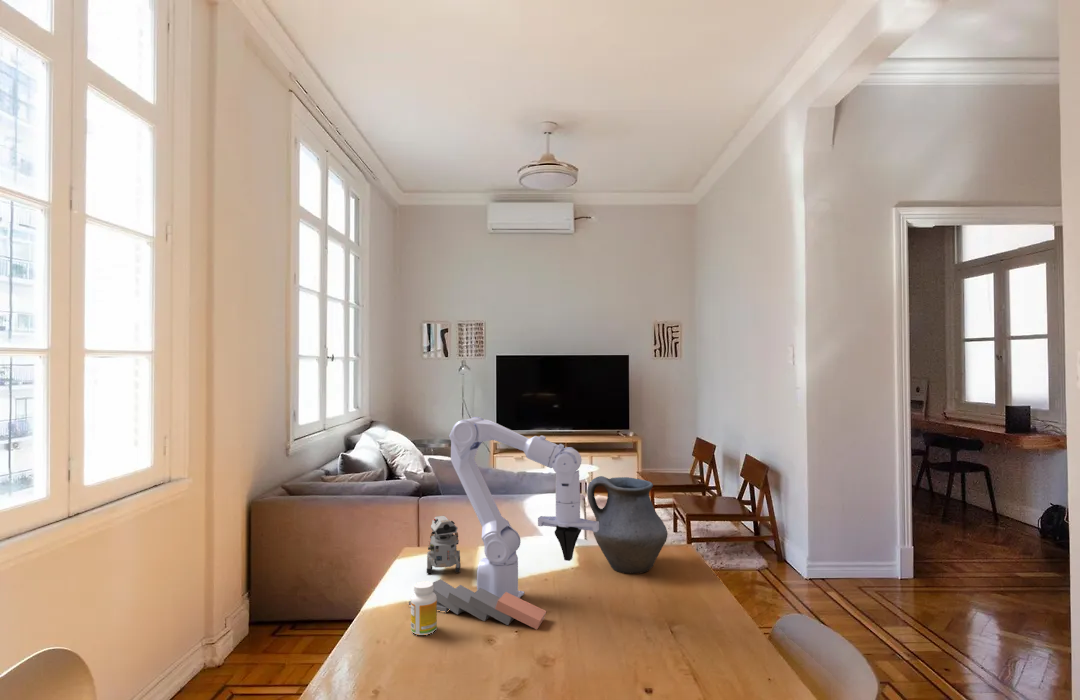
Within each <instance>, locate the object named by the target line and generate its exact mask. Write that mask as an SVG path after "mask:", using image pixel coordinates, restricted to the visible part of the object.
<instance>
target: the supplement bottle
mask: <svg viewBox="0 0 1080 700" xmlns="http://www.w3.org/2000/svg"><path fill="white" fill-rule="evenodd" d="M413 591H414V594H412V596H411V598H410V601H411V607H410V632H411V631H412V632H413V633H415V634H419V635H424V634H430V633H432V634H434V633H435V632H436V631H437V629H438V622H437V621H438V617H437V615H438V612H437V597H436V594H435V593H433V582H432V581H427V580H425V581H418V582H416V583H415V584H414V585H413ZM435 630H436V631H435ZM434 631H435V632H434ZM412 632H411V633H412ZM433 632H434V633H433ZM413 633H412V634H413ZM430 635H431V634H430Z"/></svg>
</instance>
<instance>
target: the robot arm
mask: <svg viewBox="0 0 1080 700" xmlns="http://www.w3.org/2000/svg"><path fill="white" fill-rule="evenodd" d="M448 438H449V440H450V461H451V464H452V466H453V468H454V470H455V473H456V474H457V477H458V479H459V481H460V483H461V486H462V488H463V489H464V493H465V494H466V496H467V498H468V500H469V502H470V505H471V506H472V509H473V511H474V513H475V515H476V517H477V519H478V522H479V523H480V525H481V541H482V542H483V545H484V546H483V547H484V548H483V549H484V554H485V555H484V556H485V557H483V558H482V559H480V561H479V563H478V566H477V571H476V591H477V590H478V589H479V588H482V589H484V590H486V591H488V592H490V593H492V594H494V595H496V596H498V597H500V598H501V597H502V595H503V594H504V593H505V592H507V593H509V594H512V595H514V596H516V597H518V598H520V599H521V597H522V596H524V595H525V591H522V590H519V557H518V555H517V551H518V549H520V546H521V537H520V533H519V532H518V531H516V530H515V528H513V527H512V526H511V523H510V522H509V521H508V519H506V518H505V517H503V515H502V514H501V512H500V509H499V507H498V505H497V504H496V501H495V499H494V497H493V495H492V493H491V491H490V488H489V487H488V485H487V482H486V481H485V479H484V477H483V474H482V472H481V470H480V468H479V466H478V464H477V461H476V460H475V457H476V455H477V452H478V450H479V447H480V446H481V444H483V442H488V441H496V442H498V443H501V444H502V445H503V444H504V445H506V446H509V447H511V448H515V449H518V450H519V451H523V453H524V455H525V457H526V459H528V460H530V461H533V462H536V463H537V464H540V465H542V466H544V467H547V468H550V469H553V471H554V472H555V516H553V515H552V516H548V515H547V516H546V515H545V516H543V515H541V516H539V517H537V527H551V528H552V527H554V528H555V530H554V536H555V537H556V539H557V540H558V542H559V546H560V548H561V551H562V556H563V560H564V561H567V562H568V561H569V562H570V561H571V560H573V557H574V556H573V555H574V551H575V546H576V544H577V541H578V539H579V536H580V534H581V532H582V530H583V531H591V532H597V531H598V530H599V522H598V521H596V520H590V519H586V518H582V517H581V489H580V488H581V487H580V486H581V481H580V470H579V468H580V467H581V465H582V461H583V459H582V455H581V454H580V452H579V451H578V450H577V449H575V448H574V447H571V446H570V447H568V446H567V447H565V444H562V443H559V444H556V443H555V442H552V441H550V440H547V437H546V436H545V435H540V436H537V435H534V436H533V437H530V438H529V437H527V436H524V435H523V434H520V433H518V432H516V431H514V430H512V429H510V428H508V427H505V426H503V425H501V424H499V423H497V422H494V421H493V420H490V419H484V418H482V417H480V416H472V417H471V418H467V419H461V420H459V421H457V422H455V423H454V425H453V426H452V429H451V431H450V433H449V436H448Z"/></svg>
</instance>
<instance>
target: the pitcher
mask: <svg viewBox="0 0 1080 700" xmlns="http://www.w3.org/2000/svg"><path fill="white" fill-rule="evenodd" d="M597 487H604V488H605V489H606V491H607V496H606V498H607V499H606V502H605V505H604V507H603V508H601V507H599V506H598V504H597V500H596V497H595V490H596V488H597ZM653 487H654V484H653V482H651V481H648V480H645V479H640V478H635V477H627V476H626V477H625V476H624V477H623V476H622V477H619V476H618V477H610V478H608V477H606V476H603V475H600V476H599V475H598V476H596V477H594V478H593V479H592V480H590V482H589V484H588V485H587V490H586V492H587V493H586V495H587V500H588V504H589V506H590V509H591V511H592V513H593V515H594V517H595V521H598V522H599V530H598V531H597V532H593V531H592V532H593V536H594V539H595V541H596V543H597V545H598V546H599V548H600V550H601V552H602V553H603V555H604V557H605V559H606V560H607V562H608V564H609V565H610V567H611V568H612V570H613V571H615V572H619V573H622V574H635V573H639V574H643V573H647V572H649V571H650V570H651V569H652V568H653V567H654V564H655V562H656V560H657V559H658V556H659V555H660V552H662V549H663V548H664V546H665V543H666V542H667V540H668V534H669V533H668V529H667V527H666V525H665V523H664V521H663V519H662V518H661V517H660V516H659V514H658V513H657V511H656V510H655V508H654V505H653V503H652V500H651V497H650V492H651V490H652V488H653Z"/></svg>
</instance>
